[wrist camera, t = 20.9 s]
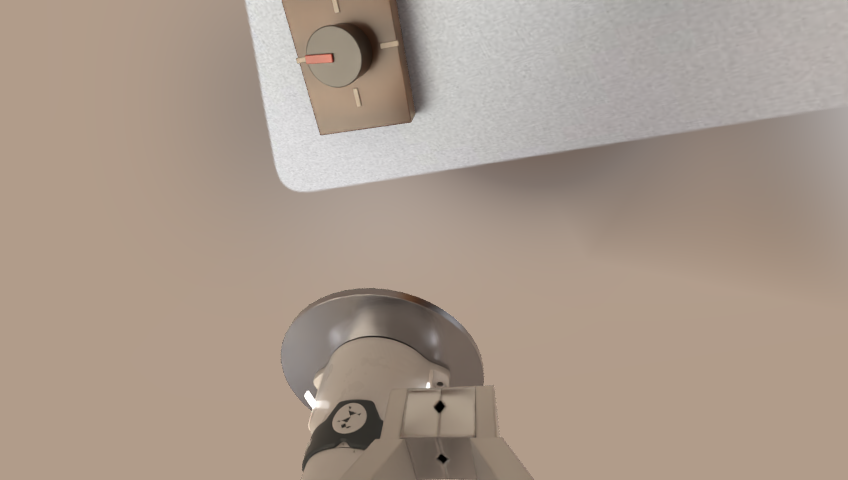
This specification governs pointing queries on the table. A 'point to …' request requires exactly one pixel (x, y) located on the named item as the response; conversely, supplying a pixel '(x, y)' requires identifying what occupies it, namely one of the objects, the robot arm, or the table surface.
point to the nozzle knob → (338, 54)
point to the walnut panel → (381, 84)
